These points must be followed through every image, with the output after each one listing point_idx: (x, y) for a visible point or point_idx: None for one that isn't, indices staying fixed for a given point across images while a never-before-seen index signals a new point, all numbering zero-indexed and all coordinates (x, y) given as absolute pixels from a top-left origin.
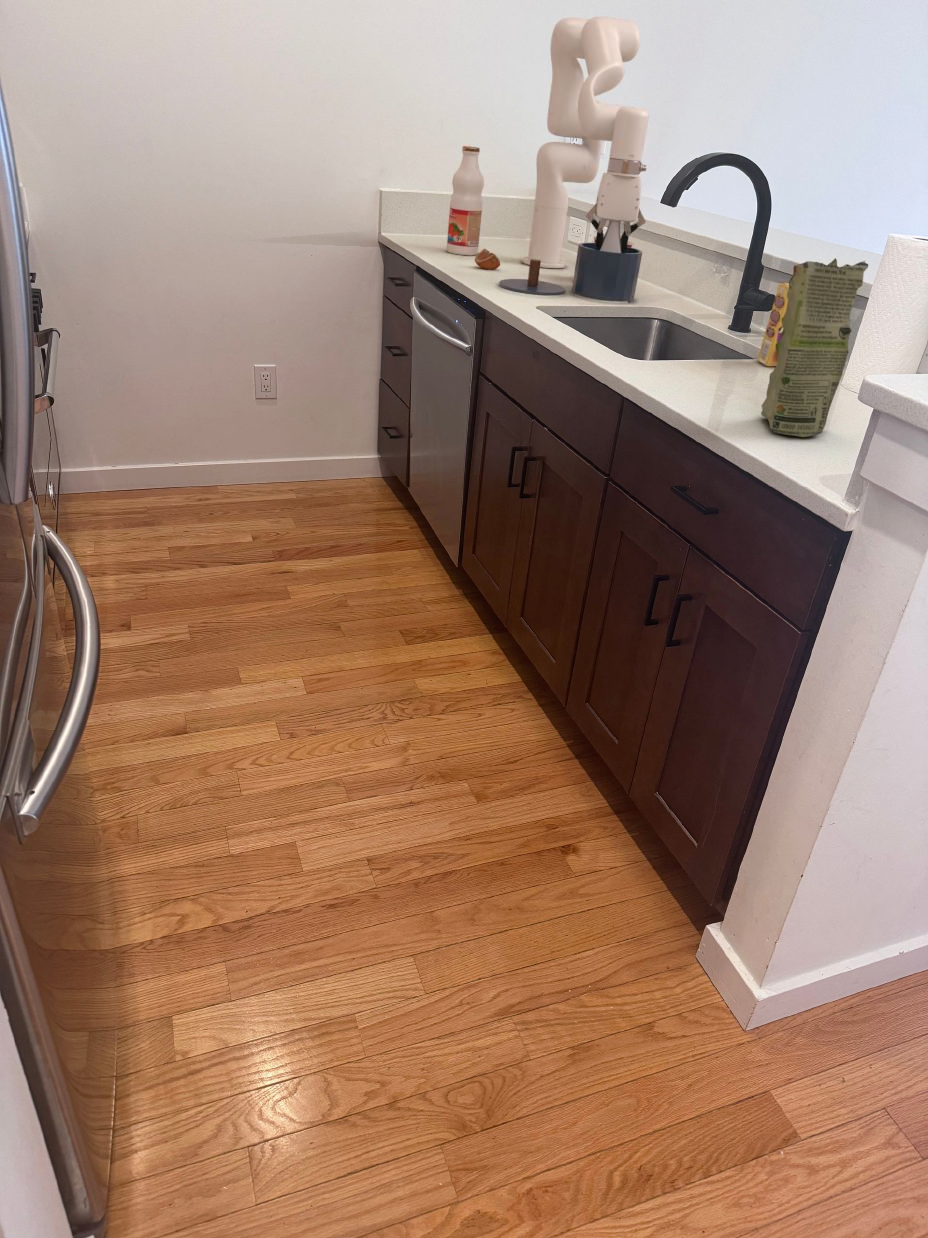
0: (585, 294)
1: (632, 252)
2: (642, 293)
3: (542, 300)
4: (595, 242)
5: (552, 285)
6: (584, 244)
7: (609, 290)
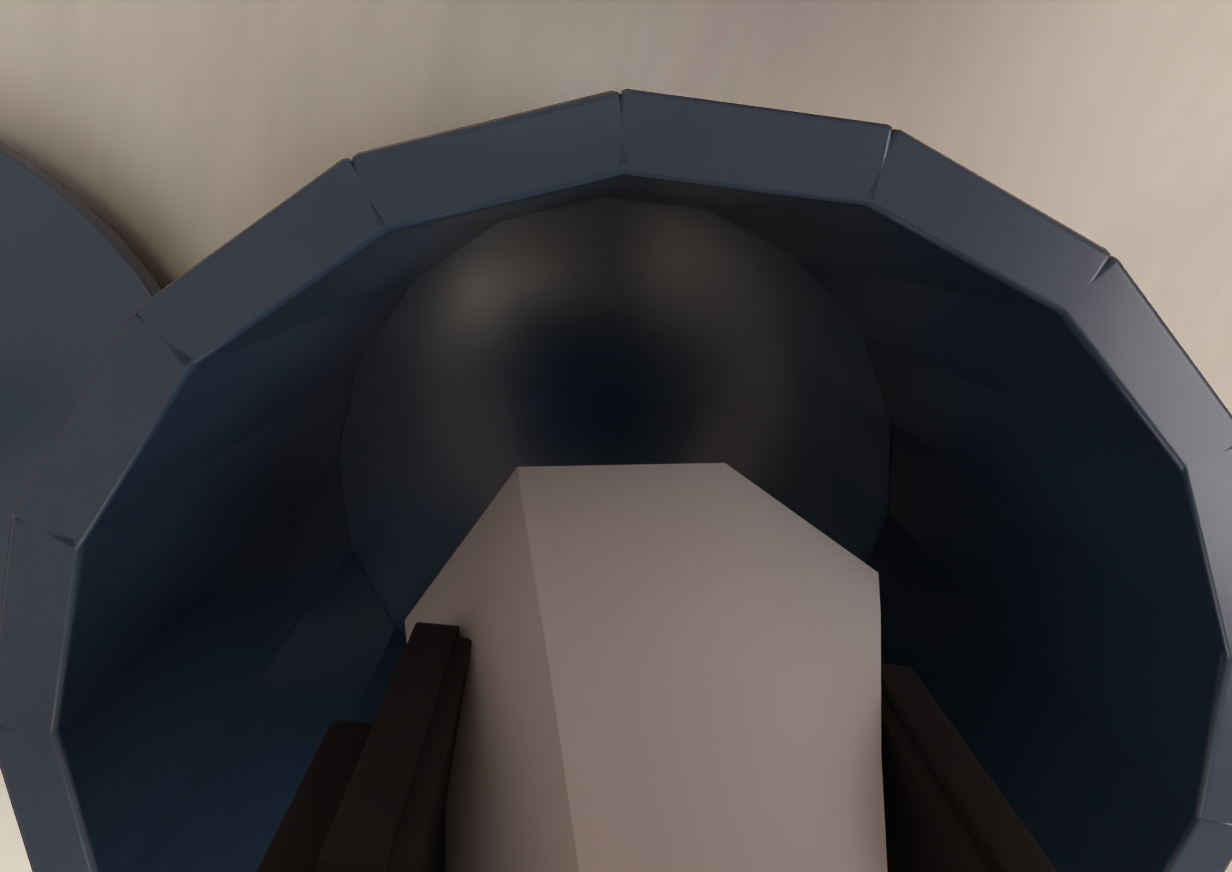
0: None
1: (1153, 546)
2: (1174, 107)
3: (17, 828)
4: (324, 749)
5: (85, 360)
6: (154, 450)
7: None
